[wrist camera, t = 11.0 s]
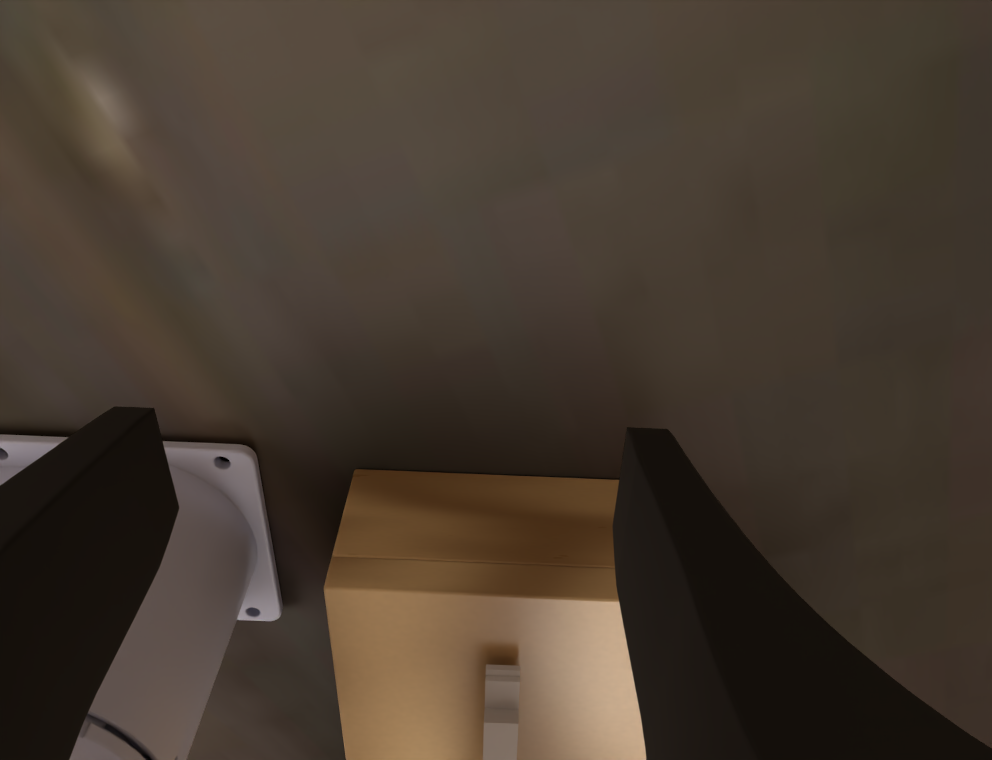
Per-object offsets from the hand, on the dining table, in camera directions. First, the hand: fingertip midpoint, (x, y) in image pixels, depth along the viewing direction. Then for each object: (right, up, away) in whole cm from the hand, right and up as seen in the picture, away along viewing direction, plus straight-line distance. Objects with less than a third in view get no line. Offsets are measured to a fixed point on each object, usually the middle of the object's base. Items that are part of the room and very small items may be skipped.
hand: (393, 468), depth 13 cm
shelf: (+2, -12, +21) cm, 24 cm away
